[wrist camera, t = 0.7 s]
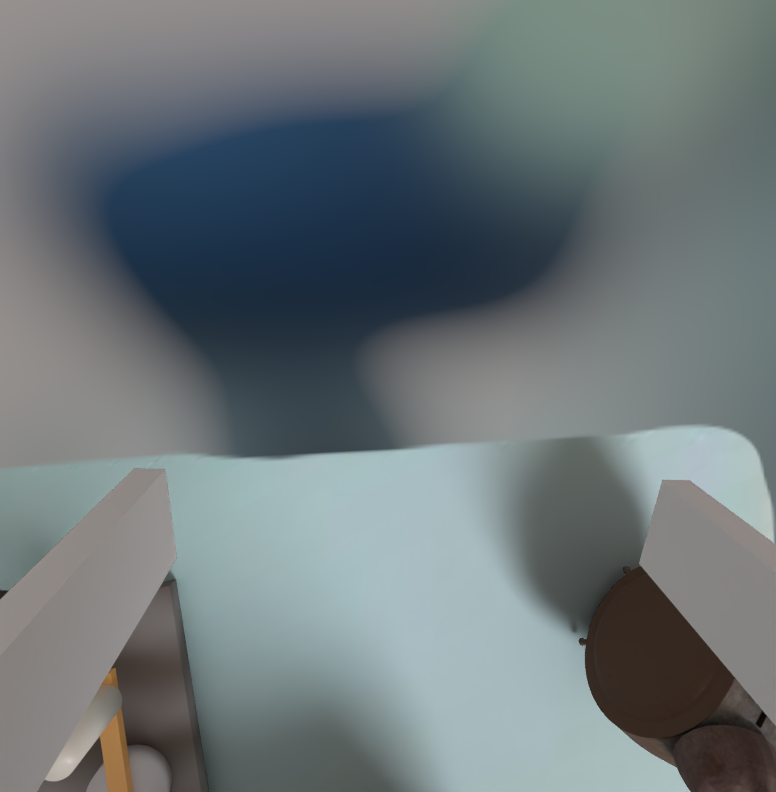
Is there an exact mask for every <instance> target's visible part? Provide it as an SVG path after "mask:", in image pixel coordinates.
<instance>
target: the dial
mask: <svg viewBox="0 0 776 792" xmlns="http://www.w3.org/2000/svg"><path fill="white" fill-rule="evenodd" d="M121 706H122V694H121V692H120V691H119V688H118V681H117V674H116V668H113V669H110V671H109V673H108V674H107V676H106V678H105V679H104V681H103V683H102V684H101V686H100V688H99V689H98V691H97V693H96V694H95V696H94V698H93V699H92V701H91V703H90V704H89V706H88V708H87V709H86V711H85V713H84V714H83V716H82V718H81V719H80V721H79V723H78V724H77V726H76V728H75V729H74V731H73V733H72V734H71V736H70V738H69V739H68V741H67V743H66V744H65V746H64V748H63V749H62V751H61V753H60V755H59V756H58V758H57V760H56V761H55V763H54V765H53V766H52V768H51V770H50V771H49V773H48V775H47V776H46V778H45V780H47V781H60V780H62V779H65V778H66V777H68V776H69V775H70V774H71V773H72V772H73V771H74V769H75V768H76V767H77V765H78V764H79V763H80V761H81V760H82V759H83V757H84V756H85V755H86V753H87V752H88V751H89V749H90V748H91V747H92V746H93V744H94V743H95V742H96V740H97V739H98V738H99V736H100V740H101V747H102V754H103V761H104V762H103V764H102V765H101V767H100V768H99V769H98V771H97V772H96V774H95V775H94V777H93V778H92V780H91V781H90V783H89V785H88V787H87V790H86V792H170V790H171V786H172V772H171V768H170V765H169V763H168V761H167V759H166V758H165V757H164V755H163V754H162V753H160V752H159V751H158V750H156V749H154V748H152V747H150V746H146V745H129V746H127V742H126V735H125V728H124V722H123V715H122V708H121Z"/></svg>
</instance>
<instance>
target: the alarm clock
mask: <svg viewBox="0 0 776 792" xmlns="http://www.w3.org/2000/svg"><path fill="white" fill-rule="evenodd" d="M623 571H624V573H626V575H625V576H624V577H623V578H622V579H620V580H619V581H618V582H617V583H616V584H615V585H614V586H613V587H612V588H611V590H610V591H609V592H608V593H607V595H606V596H605V597H604V599H603V600H602V602H601V603H600V605H599V607H598V609H597V611H596V613H595V615H594V617H593V620H592V622H591V625H590V628H589V632H588V636H587V639H584V638H580V639H579V643H580V645H585V644H586V649H585V668H586V675H587V680H588V684H589V687H590V690H591V693H592V695H593V698H594V700H595V701H596V703H597V705H598V707H599V708H600V710H601V711H602V712H603V713H604V715H605V716H606V717H607V718H608V719H609V720H610V721H611V722H612V723H614V724H615V725H616V726H617V727H619V728H620V729H621V730H622V731H623V732H624V733H625V734H626V735H628V736H629V737H630V738H631V739H632V740H633V741H635V742H636V743H637V744H638V745H640V746H641V747H643V748H644V749H645V750H647V751H648V752H650V753H652V754H653V755H655V756H657V757H658V758H660V759H662V760H664V761H666V762H668V763H669V764H671V765H673V766H675V767H677V769H678V771H679V773H680V775H681V777H682V779H683V781H684V782H685V784H686V785H687V787H688V788H689V790H690V791H691V792H776V726H775V724H774V723H773V722H772V721H771V720H770V719H769V717H768V716H767V715H766V714H765V713H764V711H763V710H762V709H761V708H760V707H759V705H758V704H757V703H756V702H755V701H754V700H753V698H752V697H751V696H750V695H749V694H748V692H747V691H746V690H745V689H744V688H743V686H742V685H741V684H740V683H739V682H738V681H737V679H736V678H735V677H734V676H733V675H732V673H731V672H730V671H729V670H728V669H727V667H726V666H725V665H724V664H723V663H722V662H721V660H720V659H719V658H718V657H717V656H716V654H715V653H714V652H713V651H712V650H711V648H710V647H709V646H708V645H707V644H706V643H705V641H704V640H703V639H702V638H701V637H700V635H699V634H698V633H697V632H696V631H695V629H694V628H693V627H692V626H691V625H690V624H689V622H688V621H687V620H686V619H685V618H684V616H683V615H682V614H681V613H680V612H679V610H678V609H677V608H676V607H675V606H674V604H673V603H672V602H671V601H670V600H669V599H668V597H667V596H666V595H665V594H664V593H663V591H662V590H661V589H660V588H659V587H658V585H657V584H656V583H655V582H654V581H653V580H652V578H651V577H650V576H649V575H648V574H647V572H646V571H645V570H644V569H643V568H642V566H640V567H638V568H636V569H634V570H633V571H631V572H630V568H629V567H624V568H623Z"/></svg>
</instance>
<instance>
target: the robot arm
mask: <svg viewBox="0 0 776 792" xmlns="http://www.w3.org/2000/svg"><path fill="white" fill-rule="evenodd" d="M176 559H177V556H176V548H175V540H174V532H173V524H172V517H171V509H170V501H169V493H168V485H167V478H166V470H165V469H138V468H134V469H133V470H132V471H131V472H130V473H129V474H128V475H127V476H126V477H125V478H124V479H123V480H122V481H121V482H120V483H119V484H118V485H117V486H116V487H115V488H114V489H113V490H112V491H111V492H110V493H109V494H108V495H107V496H106V497H105V498H104V499H103V500H102V501H100V502H99V503H98V504H97V505H96V506H95V507H94V508H93V509H92V510H91V511H90V512H89V513H88V514H87V515H86V516H85V517H84V518H83V519H82V520H81V521H80V522H79V523H78V524H77V525H76V526H75V527H74V528H73V529H72V530H71V531H70V532H69V533H68V534H67V535H66V536H65V537H64V538H63V539H62V540H61V541H60V542H59V543H58V544H57V545H55V546H54V547H53V548H52V549H51V550H50V551H49V552H48V553H47V554H46V555H45V556H44V557H43V558H42V559H41V560H40V561H39V562H38V563H37V564H36V565H35V566H34V567H33V568H32V569H31V570H30V571H29V572H28V573H27V574H26V575H25V576H24V577H23V578H22V579H21V580H20V581H19V582H18V583H17V584H16V585H15V586H14V587H13V588H11V589H10V590H9V591H2V590H0V792H37V791H38V790H39V788H40V786H41V785H42V783H43V781H44V780H45V778H46V776H47V775H48V773H49V771H50V770H51V768H52V766H53V765H54V763H55V761H56V760H57V758H58V756H59V755H60V753H61V751H62V749H63V748H64V746H65V744H66V743H67V741H68V739H69V738H70V736H71V734H72V733H73V731H74V729H75V728H76V726H77V724H78V723H79V721H80V719H81V718H82V716H83V714H84V713H85V711H86V709H87V708H88V706H89V704H90V703H91V701H92V699H93V698H94V696H95V694H96V693H97V691H98V689H99V688H100V686H101V684H102V683H103V681H104V679H105V678H106V676H107V674H108V673H109V671H110V669H111V668H112V666H113V664H114V663H115V661H116V659H117V658H118V656H119V654H120V653H121V651H122V649H123V648H124V646H125V644H126V643H127V641H128V639H129V638H130V636H131V634H132V633H133V631H134V629H135V628H136V626H137V624H138V623H139V621H140V619H141V618H142V616H143V614H144V613H145V611H146V609H147V608H148V606H149V604H150V603H151V601H152V599H153V598H154V596H155V594H156V593H157V591H158V589H159V588H160V586H161V584H162V583H163V581H164V579H165V578H166V576H167V574H168V573H169V571H170V569H171V568H172V566H173V564H174V563H175V561H176ZM639 564H640V565H641V566H642V568H643V569H644V570H645V571H646V572H647V574H648V575H649V576H650V577H651V578H652V580H653V581H654V582H655V583H656V584H657V585H658V587H659V588H660V589H661V590H662V591H663V593H664V594H665V595H666V596H667V597H668V599H669V600H670V601H671V602H672V603H673V604H674V606H675V607H676V608H677V609H678V610H679V612H680V613H681V614H682V615H683V616H684V618H685V619H686V620H687V621H688V622H689V624H690V625H691V626H692V627H693V628H694V629H695V631H696V632H697V633H698V634H699V635H700V637H701V638H702V639H703V640H704V641H705V643H706V644H707V645H708V646H709V647H710V648H711V650H712V651H713V652H714V653H715V654H716V656H717V657H718V658H719V659H720V660H721V662H722V663H723V664H724V665H725V666H726V667H727V669H728V670H729V671H730V672H731V673H732V675H733V676H734V677H735V678H736V679H737V681H738V682H739V683H740V684H741V685H742V686H743V688H744V689H745V690H746V691H747V692H748V694H749V695H750V696H751V697H752V698H753V700H754V701H755V702H756V703H757V704H758V705H759V707H760V708H761V709H762V710H763V711H764V713H765V714H766V715H767V716H768V717H769V719H770V720H771V721H772V722H773V723H774V724H775V726H776V544H774V543H773V542H772V541H770V540H769V539H768V538H766V537H765V536H764V535H762V534H761V533H760V532H758V531H757V530H756V529H754V528H753V527H752V526H750V525H749V524H748V523H746V522H745V521H744V520H742V519H741V518H740V517H738V516H737V515H735V514H734V513H733V512H731V511H730V510H729V509H727V508H726V507H725V506H723V505H722V504H721V503H719V502H718V501H717V500H715V499H714V498H713V497H711V496H710V495H709V494H707V493H706V492H705V491H703V490H702V489H701V488H699V487H698V486H696V485H695V484H694V483H692V482H691V481H690V480H662V483H661V487H660V490H659V494H658V498H657V501H656V505H655V508H654V512H653V515H652V519H651V522H650V526H649V529H648V533H647V536H646V540H645V544H644V547H643V551H642V554H641V558H640V561H639Z"/></svg>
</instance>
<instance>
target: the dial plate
mask: <svg viewBox="0 0 776 792" xmlns="http://www.w3.org/2000/svg"><path fill="white" fill-rule="evenodd" d="M113 668H116V674H117V681H118V688H119V691H120V692H121V694H122V706H121V708H122V715H123V722H124V728H125V735H126V742H127V746H129V745H146V746H150V747H152V748H154V749H156V750H158V751H159V752H160V753H162V754H163V755H164V757H165V758H166V759H167V761H168V763H169V765H170V768H171V772H172V786H171V790H170V792H209V791H208V784H207V778H206V771H205V765H204V758H203V752H202V745H201V739H200V732H199V726H198V720H197V713H196V707H195V700H194V694H193V687H192V681H191V674H190V668H189V661H188V655H187V648H186V642H185V635H184V629H183V622H182V616H181V609H180V603H179V596H178V590H177V583H176V580H172V581H167V582H163V583H162V584H161V586H160V588H159V589H158V591H157V593H156V594H155V596H154V598H153V599H152V601H151V603H150V604H149V606H148V608H147V609H146V611H145V613H144V614H143V616H142V618H141V619H140V621H139V623H138V624H137V626H136V628H135V629H134V631H133V633H132V634H131V636H130V638H129V639H128V641H127V643H126V644H125V646H124V648H123V649H122V651H121V653H120V654H119V656H118V658H117V659H116V661H115V663H114V664H113V666H112V668H111V669H113ZM103 762H104V761H103V754H102V747H101V740H100V736H99V738H98V739H97V740H96V742H95V743H94V744H93V746H92V747H91V748H90V749H89V751H88V752H87V753H86V755H85V756H84V757H83V759H82V760H81V761H80V763H79V764H78V765H77V767H76V768H75V769H74V771H73V772H72V773H71V774H70V775H69V776H68V777H66V778H65V779H62V780H60V781H47V780H44V781H43V783H42V785H41V786H40V788H39V790H38V791H37V792H86V790H87V787H88V785H89V783H90V781H91V780H92V778H93V777H94V775H95V774H96V772H97V771H98V769H99V768H100V767H101V765H102V764H103Z"/></svg>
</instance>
